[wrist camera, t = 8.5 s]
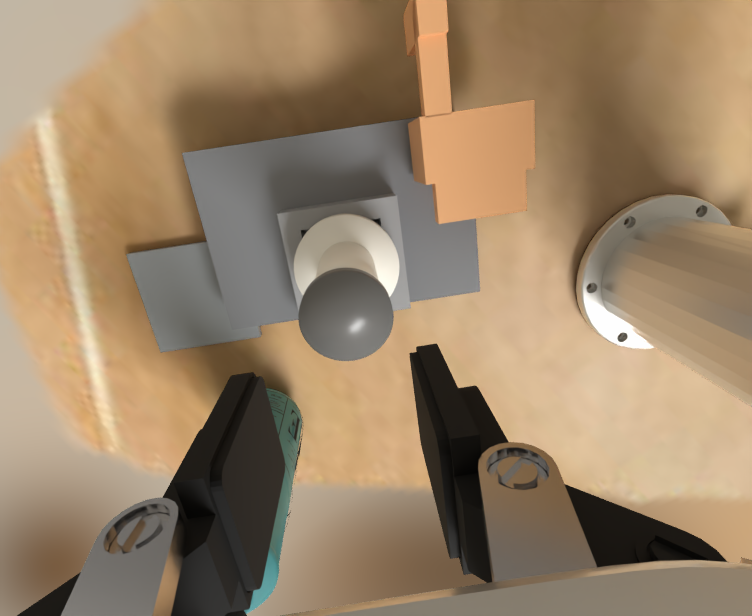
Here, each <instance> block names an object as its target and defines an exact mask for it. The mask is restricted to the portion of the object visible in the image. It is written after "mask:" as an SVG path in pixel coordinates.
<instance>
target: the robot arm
mask: <svg viewBox="0 0 752 616" xmlns="http://www.w3.org/2000/svg"><path fill="white" fill-rule="evenodd" d="M576 294H577V301H578V305H579V308H580V311H581V313H582V316H583V317H584V319H585V320H586V322H587V323H588V325H589V326H590V327H591V328H592V329H593V330H594V331H595V332H596V333H597V334H599V335H600V336H602V337H603V338H605V339H606V340H607V341H609V342H611V343H613V344H615V345H618V346H621V347H626V348H630V349H650V348H657V349H658V350H660V351H662V352H663V353H665V354H667V355H668V356H670V357H671V358H673V359H675V360H676V361H678V362H679V363H681V364H683V365H684V366H686V367H688V368H689V369H691V370H692V371H694V372H696V373H697V374H699V375H700V376H702V377H704V378H705V379H707V380H709V381H710V382H712V383H713V384H715V385H717V386H718V387H720V388H721V389H723V390H725V391H726V392H728V393H730V394H731V395H733V396H734V397H736V398H738V399H739V400H741V401H742V402H744V403H746V404H747V405H749V406H751V407H752V229H747V228H741V227H736V226H732V225H731V223H730V221H729V220H728V219H727V217H726V216H725V215H724V214H723V212H722V211H721V210H720V209H718V208H717V207H715V206H714V205H713V204H711V203H710V202H707V201H705V200H702V199H700V198H698V197H692V196H686V195H674V194H665V195H658V196H652V197H649V198H646V199H643V200H640V201H637V202H635V203H633V204H631V205H630V206H628V207H626V208H624V209H622V210H621V211H620V212H618V213H617V214H616V215H614V216H613V217H612V218H611V219H609V220H608V221H607V222H606V223H605V224H604V225H603V227H602V228H601V229H600V230H599V231H598V232H597V233H596V235H595V236H594V238H593V239H592V240H591V242H590V243H589V245H588V246H587V249H586V251H585V253H584V255H583V257H582V260H581V262H580V266H579V270H578V274H577V283H576ZM416 350H417V352H414V353H410V362H411V370H412V378H413V386H414V394H415V401H416V409H417V417H418V425H419V433H420V440H421V445H422V450H423V454H424V458H425V462H426V466H427V470H428V474H429V478H430V482H431V486H432V490H433V494H434V497H435V502H436V505H437V510H438V514H439V517H440V521H441V525H442V529H443V533H444V537H445V541H446V545H447V549H448V553H449V557H450V558H458V557H459V559H460V562H461V566H462V570H463V574H464V575H465V574H474V575H476V576H477V577H479V578H480V579H482V580H484V581H485V582H486V583H485V584H478V585H472V586H466V587H459V588H453V589H446V590H440V591H433V592H427V593H421V594H414V595H408V596H401V597H394V598H388V599H381V600H376V601H369V602H364V603H357V604H350V605H344V606H338V607H332V608H325V609H319V610H313V611H306V612H300V613H294V614H288V615H282V616H752V560H749V559H745V558H742V557H741V561H740V563H732V562H727V561H726V560H725V559H724V558H723V557H722V556H721V555H720V553H719V552H718V551H717V550H716V549H714V548H713V547H711V546H710V545H709V544H707V543H706V542H704V541H703V540H702V539H700V538H698V537H696V536H694V535H692V534H690V533H688V532H685V531H683V530H680V529H678V528H676V527H673V526H670V525H668V524H665V523H663V522H660V521H658V520H655V519H653V518H650V517H647V516H645V515H642V514H640V513H637V512H634V511H632V510H629V509H627V508H624V507H622V506H619V505H617V504H614V503H612V502H609V501H606V500H604V499H601V498H599V497H596V496H594V495H591V494H588V493H586V492H583V491H581V490H578V489H576V488H573V487H570V486H568V485H565V484H564V482H563V479H562V477H561V474H560V472H559V469H558V467H557V465H556V463H555V462H554V460H553V458H552V457H550V456H549V455H548V454H547V453H546V452H544V451H543V450H541V449H539V448H537V447H535V446H532V445H528V444H524V443H515V442H508V440H507V438H506V437H505V435H504V433H503V431H502V430H501V428H500V426H499V424H498V422H497V421H496V419H495V417H494V415H493V414H492V412H491V410H490V408H489V406H488V405H487V403H486V401H485V399H484V398H483V396H482V394H481V392H480V390H479V389H478V387H477V386H470V387H464V388H458V387H457V385H456V383H455V381H454V379H453V377H452V374H451V372H450V370H449V368H448V366H447V364H446V362H445V360H444V358H443V355H442V353H441V351H440V349H439V347H438V345H437V344H431V345H425V346H418V347H417V348H416ZM284 474H285V459H284V454H283V451H282V447H281V443H280V439H279V435H278V432H277V428H276V424H275V420H274V417H273V413H272V409H271V405H270V402H269V398H268V394H267V390H266V387H265V383H264V380H263V378H262V377H261V376H260V377H256V375H255V374H254V373H253V372H251V373H245V374H238V375H232V376H231V377H230V379H229V381H228V382H227V384H226V386H225V388H224V390H223V392H222V394H221V395H220V397H219V399H218V401H217V403H216V405H215V407H214V408H213V410H212V412H211V414H210V416H209V418H208V420H207V421H206V423H205V425H204V427H203V429H201V430H200V431H199V432H198V434H197V436H196V438H195V439H194V441H193V443H192V445H191V447H190V449H189V450H188V452H187V454H186V456H185V458H184V459H183V461H182V463H181V465H180V467H179V469H178V470H177V472H176V474H175V476H174V478H173V480H172V481H171V483H170V485H169V487H168V489H167V491H166V492H165V494H164V496H163V498H154V499H149V500H145V501H143V502H140V503H137V504H135V505H133V506H131V507H130V508H128V509H126V510H124V511H122V512H121V513H120V514H119V515H117V516H116V517H114V518H113V519H112V520H111V521H110V522H109V523H108V524H107V525H106V526H105V527H104V528H103V529H102V531H101V533H100V534H99V536H98V537H97V539H96V541H95V543H94V545H93V547H92V549H91V552H90V554H89V556H88V558H87V560H86V562H85V564H84V567H83V569H82V571H81V572H80V573H79V574H78V575H76V576H75V577H73V578H72V579H70V580H69V581H67V582H66V583H64V584H63V585H61V586H60V587H59V588H57V589H55V590H54V591H53V592H51V593H50V594H48V595H47V596H45V597H44V598H42V599H41V600H39V601H38V602H37V603H35V604H33V605H32V606H31V607H29V608H28V609H26V610H25V611H23V612H22V613H20V614H19V615H17V616H225V615H226V614H227V613H229V612H236V611H242V610H248V609H250V605H251V600H252V596H253V591H254V590H258V589H260V588H261V586H262V582H263V577H264V572H265V567H266V562H267V558H268V553H269V548H270V543H271V538H272V533H273V528H274V523H275V518H276V513H277V508H278V503H279V498H280V494H281V489H282V484H283V479H284Z"/></svg>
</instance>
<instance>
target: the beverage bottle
mask: <svg viewBox="0 0 752 616" xmlns="http://www.w3.org/2000/svg"><path fill="white" fill-rule="evenodd" d="M266 390H267V394H268V398H269V402H270V405H271V409H272V413H273V417H274V420H275V424H276V428H277V432H278V435H279V439H280V443H281V447H282V451H283V454H284V459H285V474H284V479H283V484H282V489H281V494H280V498H279V503H278V508H277V513H276V518H275V523H274V528H273V533H272V538H271V543H270V548H269V553H268V558H267V562H266V567H265V572H264V577H263V582H262V586H261V588H260V589H258V590H254V591H253V596H252V600H251V605H250V609H248V610H242V611H236V612H229V613H227V614H226V615H225V616H247V615H246V614H247V613H249V612H250V611H252V610H254V609H255V608H257V607H258V606H259V605H261V604H262V603H263V602H264V601H265V600H266V599H267V598H268V597H269V595H270V594H271V593H272V592H273V590H274V588H275V586H276V583H277V580H278V574H279V560H280V554H281V547H282V542H283V535H284V529H285V523H286V518H287V516H288V515H289V514H288V508H289V503H290V497H291V490H292V484H293V478H294V474H295V470H296V465H298V464H297V460H298V456H299V454H300V447H301V443H300V447H299V440H300V434H301V428H302V424H303V422H302V418H303V417H302V418H301V415H302V414H300V413H301V412H300V410H299V409H298V407H297V405H296V404H295V402H294V401H293V400H292V399H291V398H290V397H289V396H287V395H286V394H284V393H282V392H280V391H277V390H273V389H268V388H266ZM303 427H304V425H303ZM301 440H302V438H301ZM298 447H299V451H298ZM297 454H298V456H297ZM296 459H297V460H296ZM295 476H296V475H295ZM287 514H288V515H287Z"/></svg>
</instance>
